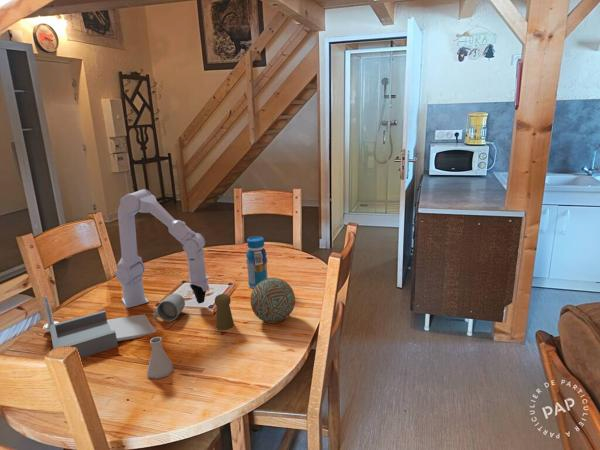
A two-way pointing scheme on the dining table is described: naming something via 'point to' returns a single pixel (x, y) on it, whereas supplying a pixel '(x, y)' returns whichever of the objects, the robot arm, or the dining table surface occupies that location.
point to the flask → (158, 360)
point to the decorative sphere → (272, 300)
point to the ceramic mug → (170, 307)
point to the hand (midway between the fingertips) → (200, 302)
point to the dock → (98, 332)
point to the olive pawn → (223, 312)
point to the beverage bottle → (256, 261)
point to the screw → (48, 314)
